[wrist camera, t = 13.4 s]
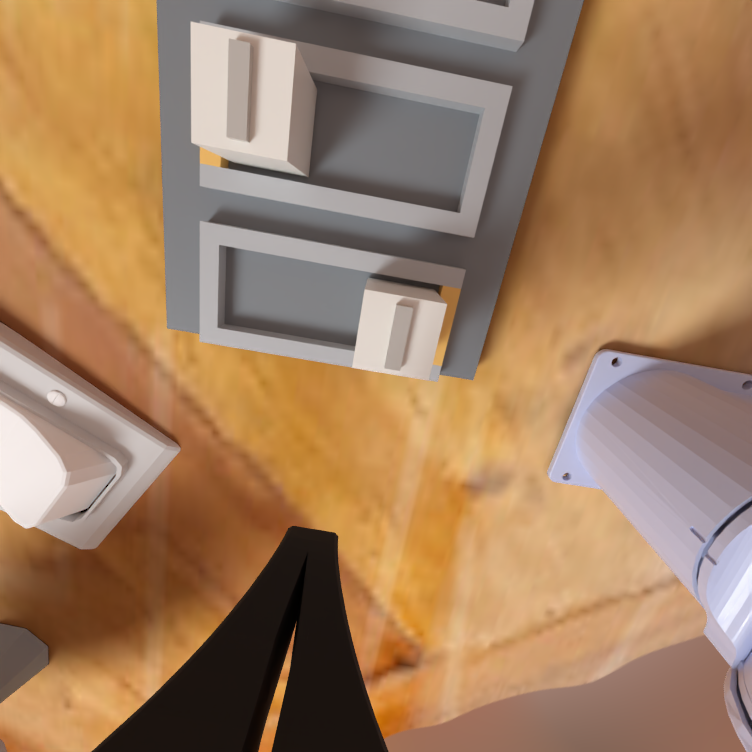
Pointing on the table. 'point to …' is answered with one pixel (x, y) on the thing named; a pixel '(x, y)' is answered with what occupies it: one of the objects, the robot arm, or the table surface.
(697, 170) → the table surface
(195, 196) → the switch unit
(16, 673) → the jet engine
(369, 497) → the table surface
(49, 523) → the light switch
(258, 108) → the slider mid
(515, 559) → the table surface
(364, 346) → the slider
